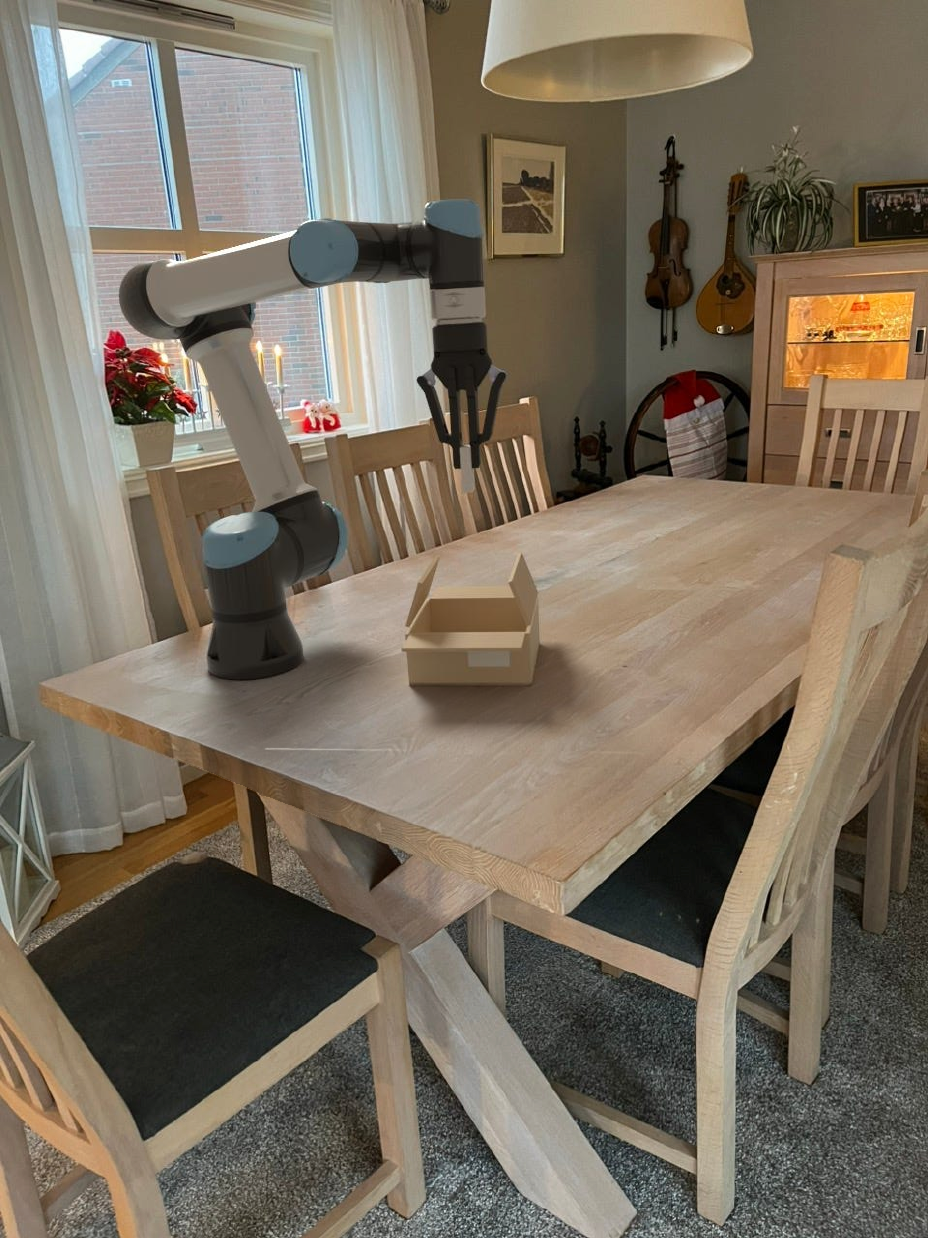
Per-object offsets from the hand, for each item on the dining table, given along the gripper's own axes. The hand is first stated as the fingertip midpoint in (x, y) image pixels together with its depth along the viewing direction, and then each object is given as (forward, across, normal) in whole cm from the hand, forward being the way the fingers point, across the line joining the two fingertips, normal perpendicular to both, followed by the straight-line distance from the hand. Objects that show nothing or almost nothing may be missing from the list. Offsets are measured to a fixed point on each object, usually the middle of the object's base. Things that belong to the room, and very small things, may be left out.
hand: (468, 490), depth 141 cm
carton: (+27, 0, 0) cm, 27 cm away
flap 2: (+19, +9, 0) cm, 21 cm away
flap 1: (+19, -9, 0) cm, 21 cm away
